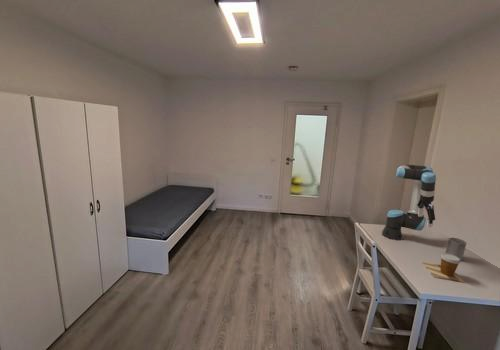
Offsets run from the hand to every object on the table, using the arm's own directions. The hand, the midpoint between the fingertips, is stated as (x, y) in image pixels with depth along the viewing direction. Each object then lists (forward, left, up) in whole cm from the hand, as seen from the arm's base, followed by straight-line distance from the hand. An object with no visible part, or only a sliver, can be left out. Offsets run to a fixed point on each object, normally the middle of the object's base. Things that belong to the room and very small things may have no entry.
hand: (424, 221), depth 163 cm
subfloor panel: (+16, +8, -28) cm, 33 cm away
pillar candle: (-9, +26, -28) cm, 40 cm away
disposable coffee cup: (+18, +10, -27) cm, 34 cm away
